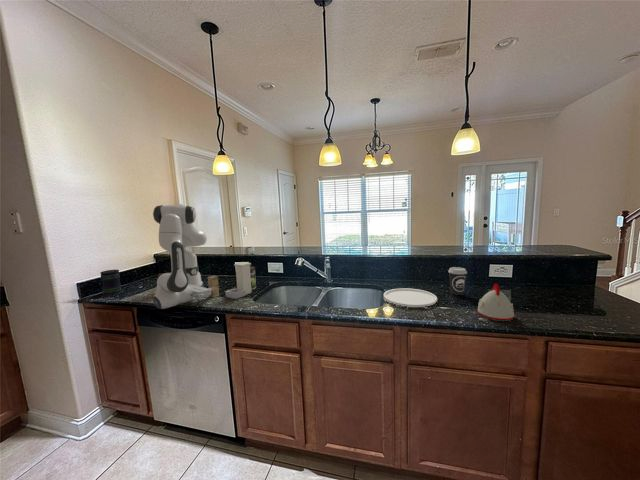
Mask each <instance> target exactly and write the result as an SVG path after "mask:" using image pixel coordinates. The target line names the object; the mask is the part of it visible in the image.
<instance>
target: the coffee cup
mask: <svg viewBox="0 0 640 480" xmlns="http://www.w3.org/2000/svg"><path fill="white" fill-rule="evenodd" d="M448 273H449V274H448V276H449V277H448V278H449V286H450V287H449V288H450V294H451V293H452V294H456V295H462V294H463V295H464V293H465V285H466V278H467V274H468V271H467V270H466V268H464V267H459V266H457V267H456V266H453V267H449V269H448Z"/></svg>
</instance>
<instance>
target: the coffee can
mask: <svg viewBox="0 0 640 480" xmlns="http://www.w3.org/2000/svg"><path fill="white" fill-rule="evenodd" d="M250 276H251V291H253V290H255V289H257V283H256V280H257V279H256V267H255V266H253V265H252V266H251V265H250Z"/></svg>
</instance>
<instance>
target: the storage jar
mask: <svg viewBox="0 0 640 480" xmlns="http://www.w3.org/2000/svg"><path fill="white" fill-rule="evenodd" d="M120 275H121V274H120V270H119V269H108V270H103V271H100V280H101V283H102V287H101V290H102V295H103V296H114V295H118V294H120V293H122V284H121V276H120Z"/></svg>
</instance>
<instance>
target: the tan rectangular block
mask: <svg viewBox="0 0 640 480" xmlns="http://www.w3.org/2000/svg"><path fill="white" fill-rule="evenodd" d="M207 282H208V288H210V287H214V290H212V291H211V295H209V296H208V297H210V298H217V297H219V296H220V290H219V289H220V287H219V275H218V276H217V275H211V276H207Z"/></svg>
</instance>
